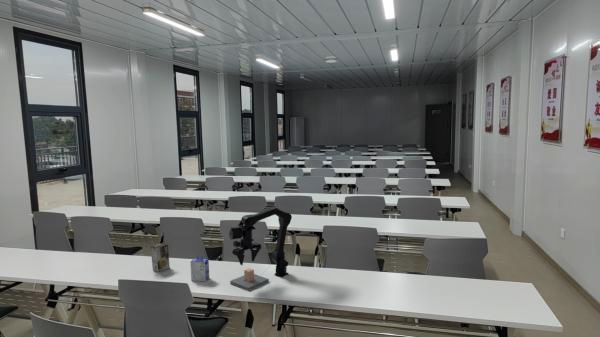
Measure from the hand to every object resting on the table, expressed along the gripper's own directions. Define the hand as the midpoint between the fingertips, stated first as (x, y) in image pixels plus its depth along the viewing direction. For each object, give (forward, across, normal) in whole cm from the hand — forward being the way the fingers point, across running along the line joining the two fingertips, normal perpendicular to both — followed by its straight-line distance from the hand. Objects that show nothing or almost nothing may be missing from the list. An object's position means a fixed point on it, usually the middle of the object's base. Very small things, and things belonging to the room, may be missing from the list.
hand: (247, 263), depth 230 cm
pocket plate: (+12, -1, +1) cm, 12 cm away
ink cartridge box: (+13, +12, -28) cm, 33 cm away
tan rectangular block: (+12, -1, +1) cm, 12 cm away
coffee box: (+14, +15, -64) cm, 68 cm away
